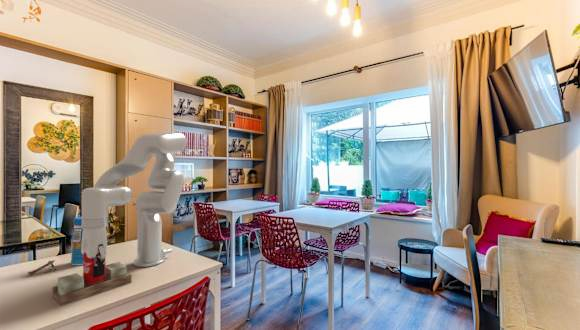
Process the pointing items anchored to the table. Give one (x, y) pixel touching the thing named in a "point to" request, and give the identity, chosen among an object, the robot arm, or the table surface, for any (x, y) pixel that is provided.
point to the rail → (75, 288)
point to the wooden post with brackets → (30, 273)
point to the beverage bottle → (77, 242)
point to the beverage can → (90, 271)
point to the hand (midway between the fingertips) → (94, 273)
